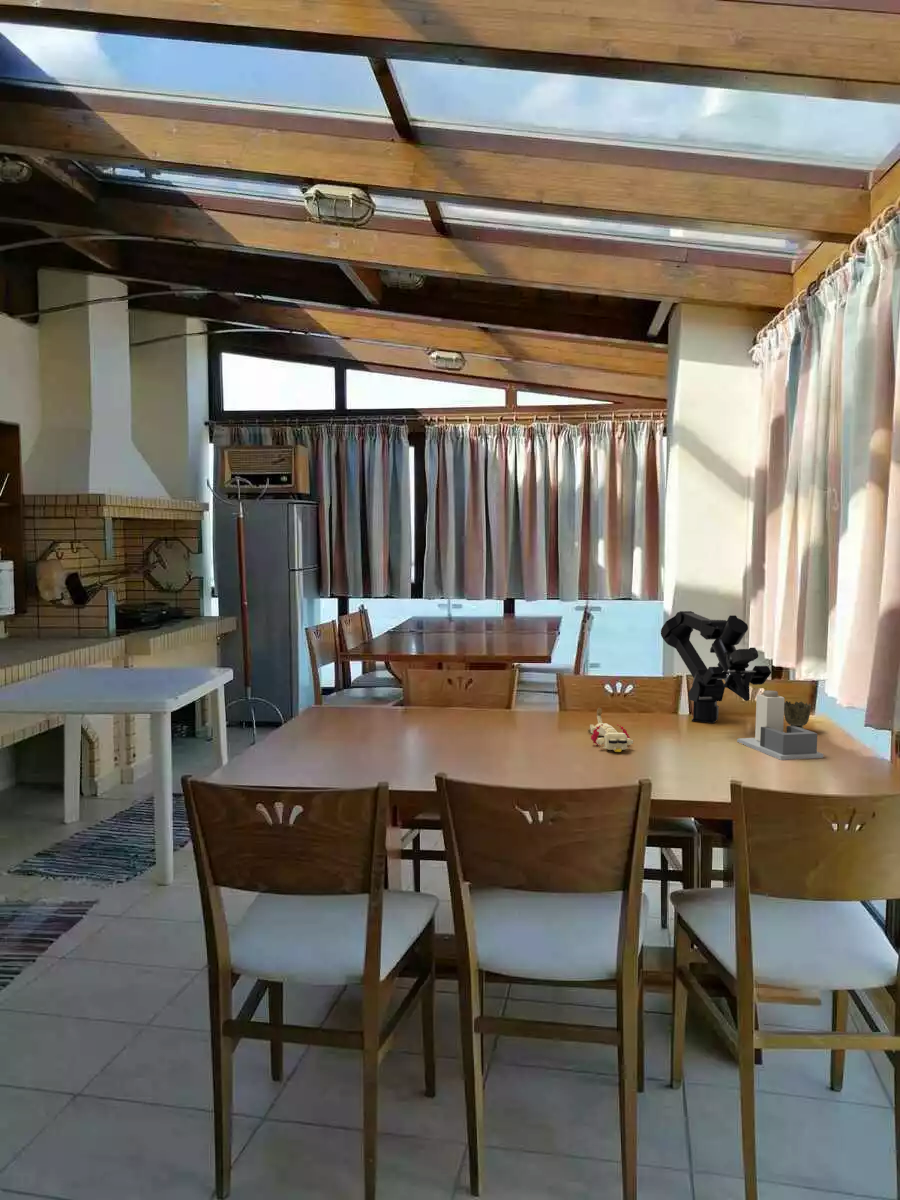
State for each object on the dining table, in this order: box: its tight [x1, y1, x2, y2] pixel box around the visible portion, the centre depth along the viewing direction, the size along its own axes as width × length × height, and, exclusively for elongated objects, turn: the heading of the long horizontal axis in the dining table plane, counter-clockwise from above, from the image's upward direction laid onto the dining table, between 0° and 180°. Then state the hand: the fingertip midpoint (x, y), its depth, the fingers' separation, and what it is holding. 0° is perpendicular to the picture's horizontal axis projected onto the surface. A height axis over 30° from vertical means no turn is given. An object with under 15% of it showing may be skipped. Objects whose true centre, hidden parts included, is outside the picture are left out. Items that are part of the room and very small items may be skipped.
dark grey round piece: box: [784, 700, 812, 729], centre depth 259 cm, size 8×7×8 cm
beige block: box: [754, 689, 785, 741], centre depth 239 cm, size 5×5×13 cm
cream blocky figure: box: [587, 707, 634, 753], centre depth 239 cm, size 10×9×25 cm
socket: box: [736, 725, 824, 761], centre depth 235 cm, size 20×12×6 cm, turn 13°
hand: (747, 700), depth 249 cm, fingers closed
